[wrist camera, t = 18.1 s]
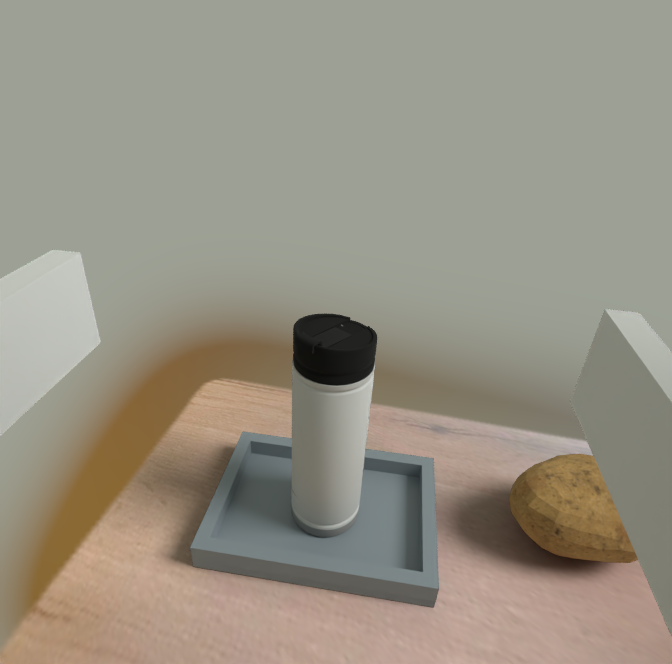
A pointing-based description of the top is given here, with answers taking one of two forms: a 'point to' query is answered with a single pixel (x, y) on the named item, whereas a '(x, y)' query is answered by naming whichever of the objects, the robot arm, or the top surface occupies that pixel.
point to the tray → (324, 552)
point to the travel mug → (330, 420)
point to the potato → (570, 510)
